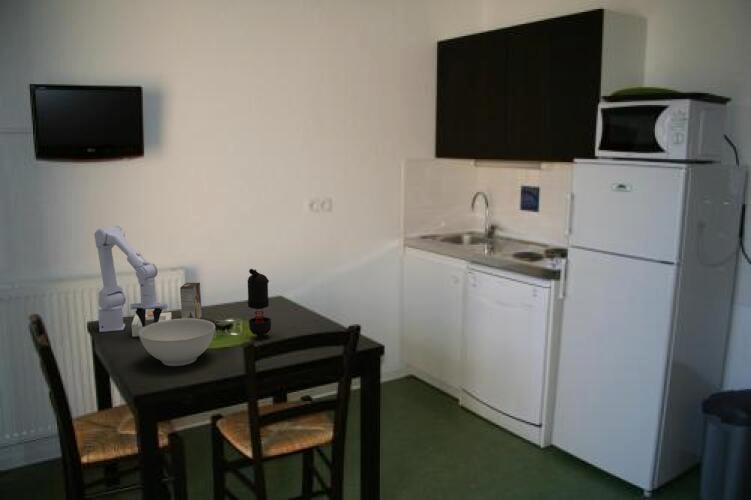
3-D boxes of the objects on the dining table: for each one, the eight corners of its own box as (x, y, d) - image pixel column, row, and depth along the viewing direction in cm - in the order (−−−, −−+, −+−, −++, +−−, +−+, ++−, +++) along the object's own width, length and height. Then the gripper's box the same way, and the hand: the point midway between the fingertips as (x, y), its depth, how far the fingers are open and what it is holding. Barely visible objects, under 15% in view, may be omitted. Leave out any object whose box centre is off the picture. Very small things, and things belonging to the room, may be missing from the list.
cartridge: (137, 335, 254) (136, 321, 253) (139, 328, 264) (138, 315, 262) (163, 333, 257) (162, 319, 256) (165, 326, 266) (164, 313, 265)
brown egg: (147, 324, 268) (147, 314, 268) (148, 321, 273) (147, 311, 272) (158, 323, 270) (157, 313, 269) (159, 320, 274) (158, 310, 273)
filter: (263, 343, 250) (261, 269, 244) (243, 340, 253) (240, 268, 247) (279, 332, 262) (277, 263, 257) (260, 330, 265) (257, 261, 260)
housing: (132, 336, 258) (131, 324, 257) (135, 325, 272) (135, 314, 271) (170, 333, 262) (169, 321, 261) (172, 323, 276) (171, 312, 275)
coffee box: (188, 316, 286) (186, 282, 283) (202, 316, 286) (200, 282, 283) (181, 322, 277) (179, 287, 274) (196, 322, 277) (194, 287, 274)
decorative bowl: (189, 343, 250) (187, 314, 247) (231, 358, 233) (230, 327, 231) (126, 361, 229) (124, 330, 227) (167, 380, 213) (165, 346, 210)
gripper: (169, 291, 257) (171, 323, 260) (134, 291, 257) (136, 323, 260) (163, 295, 250) (165, 328, 253) (127, 295, 250) (129, 328, 253)
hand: (150, 326), depth 256 cm, fingers open, 4 cm apart
